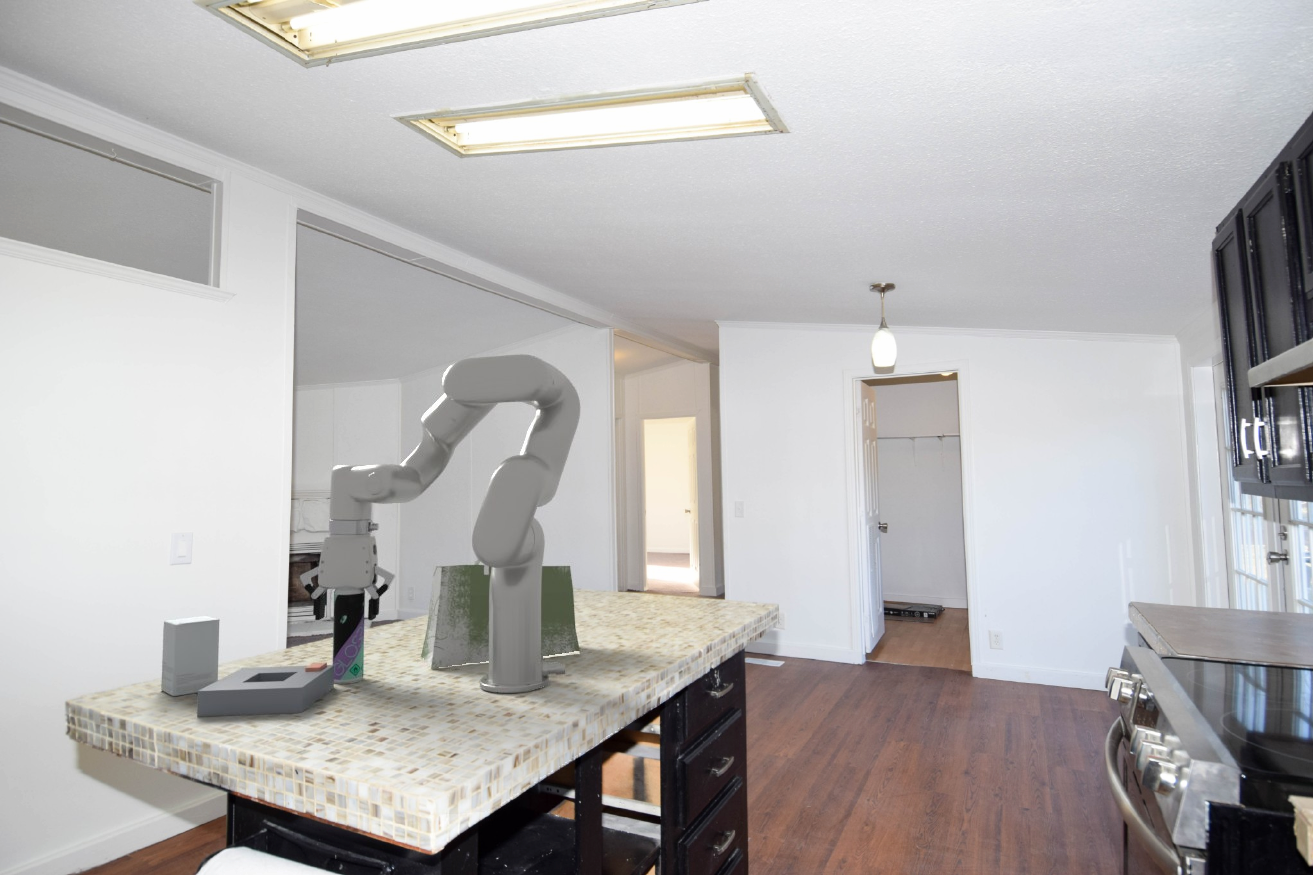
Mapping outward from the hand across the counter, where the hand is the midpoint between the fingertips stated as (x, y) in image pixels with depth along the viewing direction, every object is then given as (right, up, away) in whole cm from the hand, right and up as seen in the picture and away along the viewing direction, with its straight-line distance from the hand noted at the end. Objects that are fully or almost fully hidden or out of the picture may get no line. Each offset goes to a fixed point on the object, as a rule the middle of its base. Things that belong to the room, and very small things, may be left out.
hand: (346, 619), depth 143 cm
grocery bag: (+26, -13, +19) cm, 35 cm away
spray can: (+1, -12, -1) cm, 12 cm away
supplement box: (-26, -12, -7) cm, 29 cm away
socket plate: (-7, -11, -15) cm, 19 cm away
